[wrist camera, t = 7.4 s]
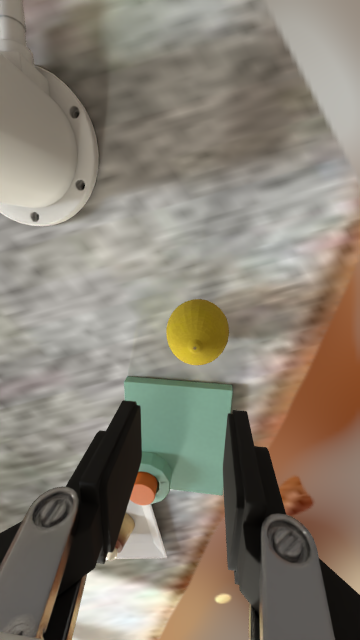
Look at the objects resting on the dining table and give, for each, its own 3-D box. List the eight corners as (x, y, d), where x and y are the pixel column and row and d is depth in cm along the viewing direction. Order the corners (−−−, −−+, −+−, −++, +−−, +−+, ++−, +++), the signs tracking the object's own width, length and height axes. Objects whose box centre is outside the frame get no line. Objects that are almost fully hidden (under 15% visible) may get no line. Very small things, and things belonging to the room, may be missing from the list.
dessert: (68, 491, 37) (48, 526, 32) (149, 486, 35) (140, 523, 30) (93, 550, 40) (78, 590, 36) (168, 549, 38) (163, 591, 34)
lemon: (215, 283, 26) (217, 302, 18) (233, 333, 27) (242, 369, 20) (164, 302, 27) (147, 327, 20) (184, 349, 28) (175, 389, 21)
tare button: (131, 469, 31) (126, 482, 29) (157, 472, 31) (154, 486, 29) (132, 490, 32) (127, 503, 30) (157, 493, 32) (154, 507, 30)
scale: (122, 375, 30) (113, 389, 28) (232, 384, 29) (234, 400, 26) (127, 479, 35) (119, 500, 32) (222, 490, 34) (223, 513, 31)
